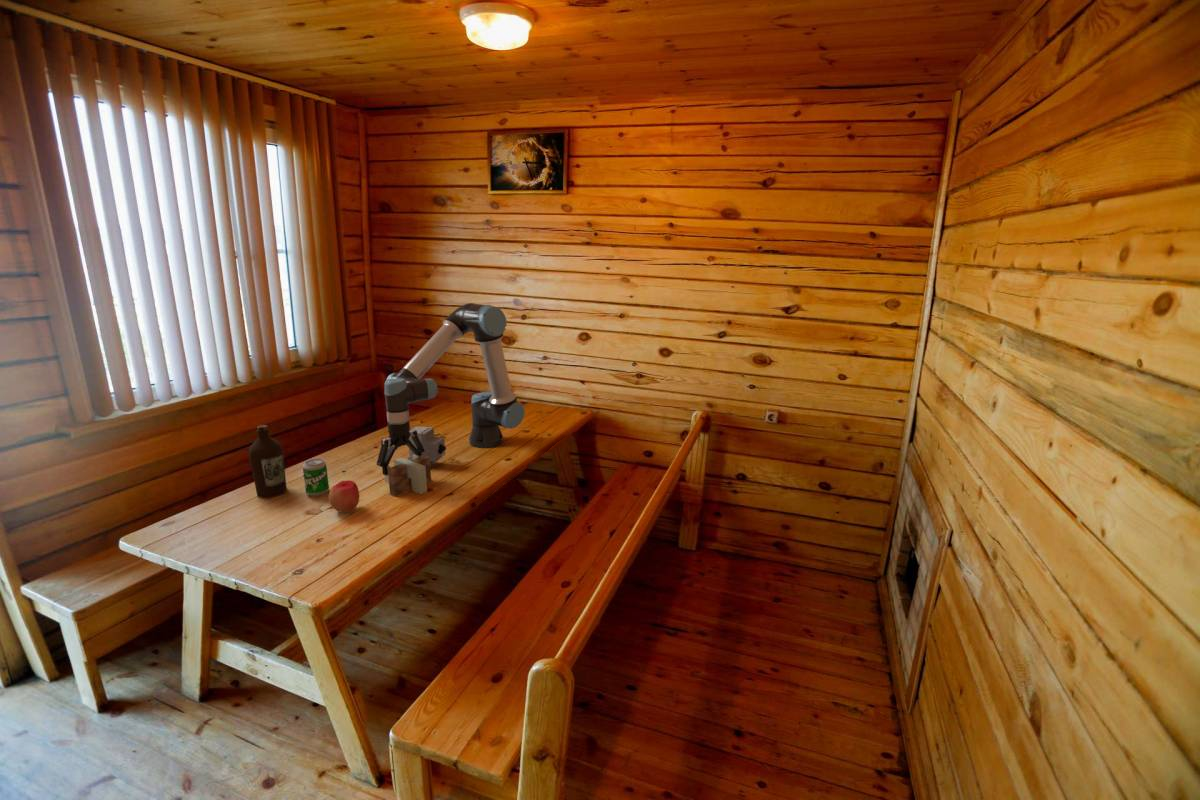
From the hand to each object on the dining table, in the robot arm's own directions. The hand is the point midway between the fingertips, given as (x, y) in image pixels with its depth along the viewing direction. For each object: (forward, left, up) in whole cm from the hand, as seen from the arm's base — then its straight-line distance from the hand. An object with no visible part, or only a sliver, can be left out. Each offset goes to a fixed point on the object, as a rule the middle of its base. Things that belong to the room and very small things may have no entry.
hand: (402, 476), depth 214 cm
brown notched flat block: (-1, +4, -3) cm, 6 cm away
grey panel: (-2, +4, -3) cm, 6 cm away
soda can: (+28, -10, -4) cm, 29 cm away
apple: (+22, +10, -4) cm, 25 cm away
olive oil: (+41, -19, -4) cm, 45 cm away
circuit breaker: (-14, -14, -4) cm, 20 cm away
